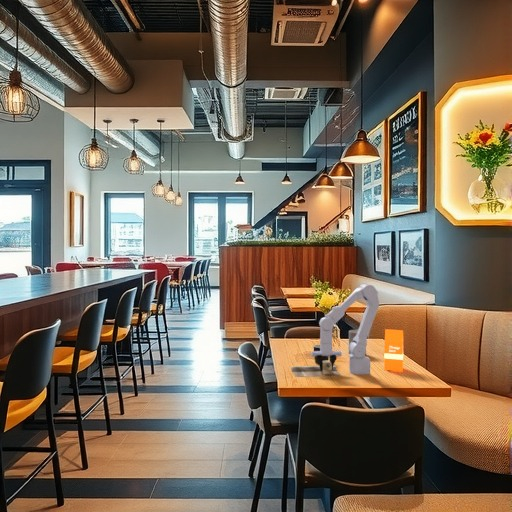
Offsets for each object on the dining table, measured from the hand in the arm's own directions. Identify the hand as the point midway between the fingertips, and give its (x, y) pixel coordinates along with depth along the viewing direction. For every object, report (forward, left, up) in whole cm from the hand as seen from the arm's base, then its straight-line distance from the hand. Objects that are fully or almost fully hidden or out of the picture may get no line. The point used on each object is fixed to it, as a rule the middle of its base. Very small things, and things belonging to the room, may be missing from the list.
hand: (326, 371), depth 218 cm
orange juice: (-37, -10, -2) cm, 38 cm away
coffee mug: (-1, -18, -2) cm, 19 cm away
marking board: (+5, 0, -2) cm, 5 cm away
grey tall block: (-28, -42, -2) cm, 51 cm away
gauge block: (0, 0, -1) cm, 1 cm away
